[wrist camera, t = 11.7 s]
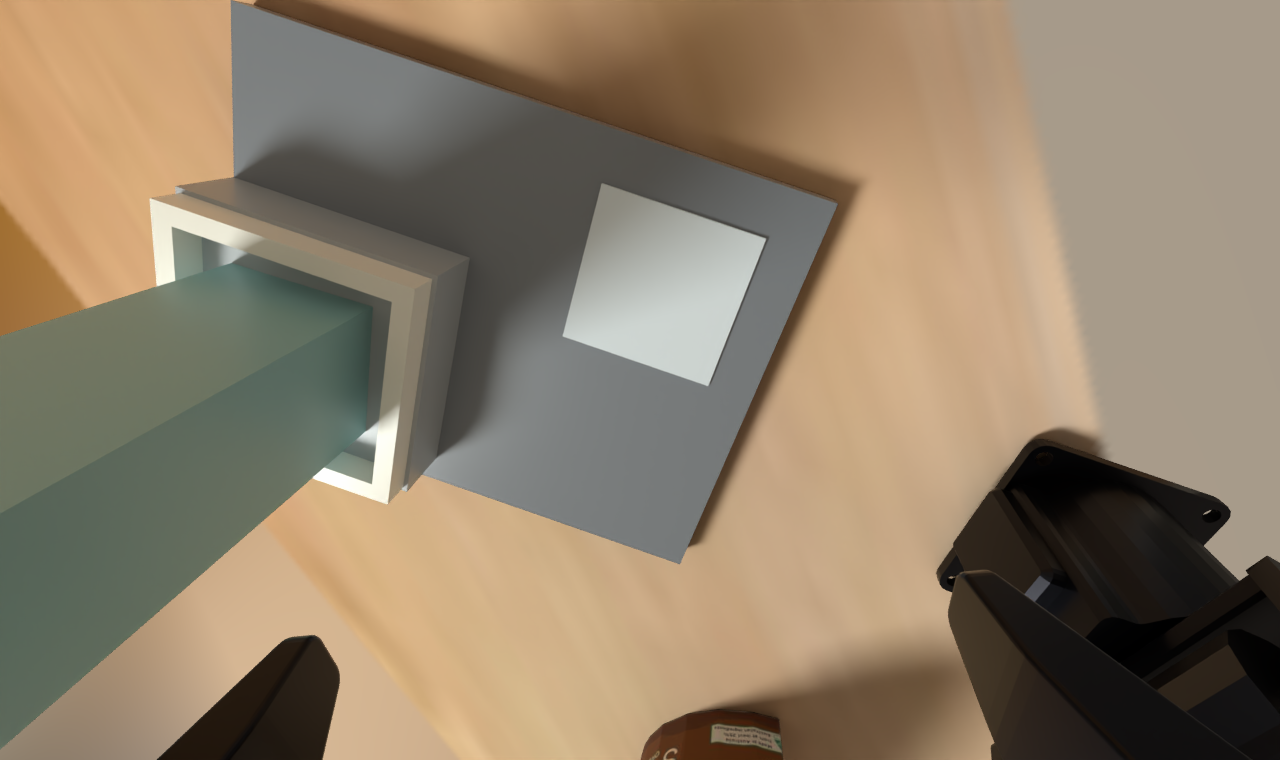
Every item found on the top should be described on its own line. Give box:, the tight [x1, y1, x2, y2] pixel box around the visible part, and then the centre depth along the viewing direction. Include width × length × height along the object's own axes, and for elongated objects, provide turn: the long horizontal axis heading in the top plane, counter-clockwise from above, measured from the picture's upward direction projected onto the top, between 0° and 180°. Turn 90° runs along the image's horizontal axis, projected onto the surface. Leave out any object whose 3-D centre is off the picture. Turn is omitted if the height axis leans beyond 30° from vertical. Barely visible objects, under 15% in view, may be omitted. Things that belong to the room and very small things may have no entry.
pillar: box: [0, 263, 373, 749], centre depth 13 cm, size 4×4×14 cm
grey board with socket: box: [150, 0, 838, 564], centre depth 19 cm, size 18×14×4 cm
